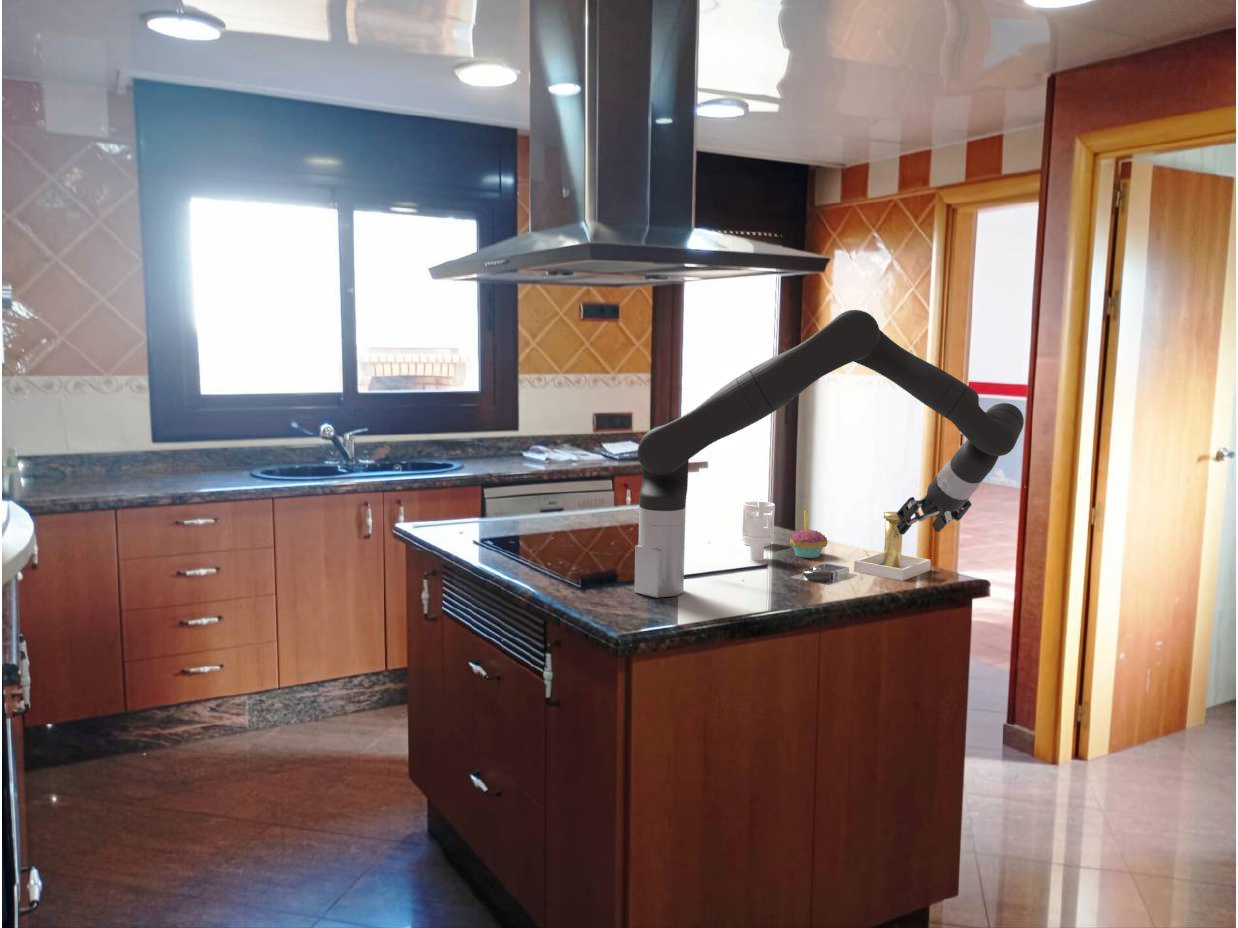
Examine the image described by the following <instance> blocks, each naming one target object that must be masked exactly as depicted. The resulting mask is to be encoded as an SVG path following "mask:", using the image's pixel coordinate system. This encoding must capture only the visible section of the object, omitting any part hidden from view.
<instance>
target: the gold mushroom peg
mask: <svg viewBox="0 0 1238 928" xmlns="http://www.w3.org/2000/svg"><path fill="white" fill-rule="evenodd" d="M897 512H898V511H885V512H883V519H884V520H885V526H884V527H885V528H884V529H885V531H884V547H883V550H884V551H883V552H884V563H882V565H883V566H889V567H894V568H900V569H902V568H901V567H902V566H901V555H902V550H903V549H902V547H903V534H902V535H901V534H900V533H899V531H898V529H897V525H898V523H899V522H900V520H899V518H898V516H897V514H896V513H897Z"/></svg>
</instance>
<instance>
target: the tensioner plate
mask: <svg viewBox="0 0 1238 928" xmlns="http://www.w3.org/2000/svg"><path fill="white" fill-rule="evenodd" d="M856 576H857V574H854V573H850V567H849V566H844V565H840V564H839V565H838V564H833V563H830V562H829V563H828V562H823V563H817V564H813V565H811V566H809V567H804V568H802V570H801V573H799V574H795V575H793V576H790V578H791V579H796V580H802V581H806V582H811V583H815V584H816V583H817V584H820V585H826V586H829V585H833V584H835V583H839V582H842V581H845V580H847V579H848V580H849V579H851V578H853V577H856Z"/></svg>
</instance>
